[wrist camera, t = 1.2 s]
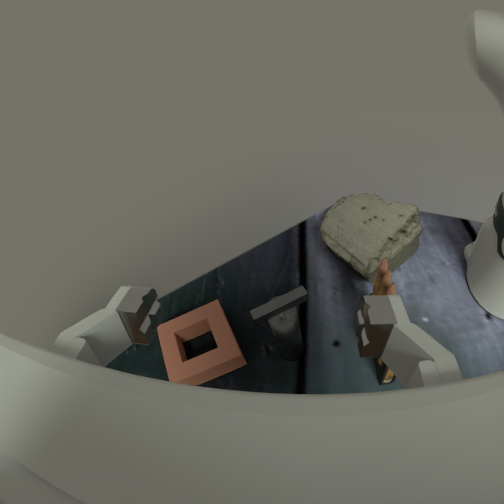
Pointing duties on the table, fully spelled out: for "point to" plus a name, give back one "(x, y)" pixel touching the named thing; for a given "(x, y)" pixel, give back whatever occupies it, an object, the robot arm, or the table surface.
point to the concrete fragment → (371, 233)
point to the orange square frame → (209, 362)
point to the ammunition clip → (384, 287)
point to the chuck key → (284, 322)
